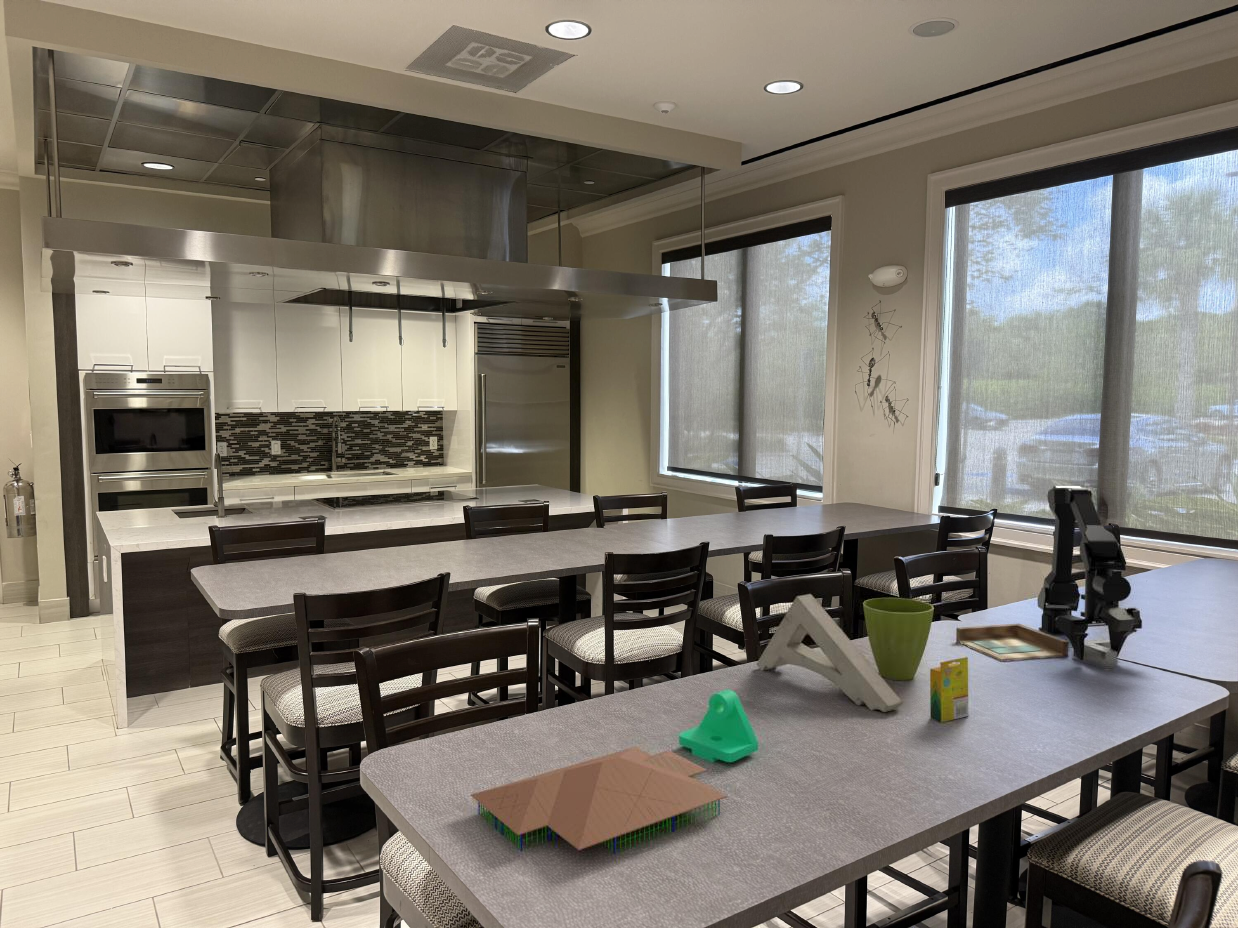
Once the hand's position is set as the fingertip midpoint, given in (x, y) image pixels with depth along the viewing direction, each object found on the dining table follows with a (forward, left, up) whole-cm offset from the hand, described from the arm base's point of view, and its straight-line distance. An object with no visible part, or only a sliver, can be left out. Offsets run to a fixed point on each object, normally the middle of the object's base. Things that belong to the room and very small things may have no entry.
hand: (1097, 658), depth 194 cm
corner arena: (+11, -16, -1) cm, 19 cm away
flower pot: (+49, -3, -1) cm, 49 cm away
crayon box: (+53, +23, -2) cm, 58 cm away
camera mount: (+102, +29, -2) cm, 106 cm away
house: (+125, +46, -2) cm, 133 cm away
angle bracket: (-3, -1, -1) cm, 3 cm away
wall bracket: (+69, +1, -2) cm, 69 cm away
